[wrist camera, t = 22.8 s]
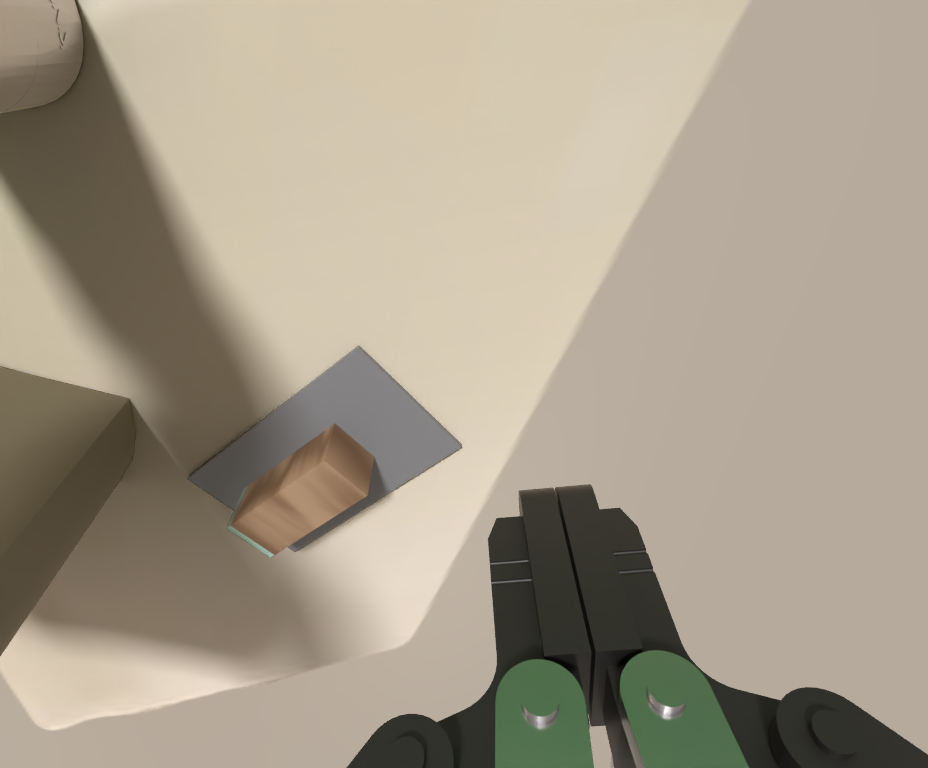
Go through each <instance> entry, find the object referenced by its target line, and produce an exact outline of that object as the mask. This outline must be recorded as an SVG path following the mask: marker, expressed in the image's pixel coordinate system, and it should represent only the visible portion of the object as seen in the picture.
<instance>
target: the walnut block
mask: <svg viewBox="0 0 928 768" xmlns="http://www.w3.org/2000/svg"><path fill="white" fill-rule="evenodd" d="M373 461H374V456H373V455H372V454H370V453H369V452H368V451H367V450H366V449H365V448H363V447H362V446H361V445H360V444H359V443H358V442H356V441H355V440H354V439H353V438H352V437H351V436H349V435H348V434H347V433H346V432H345V431H344V430H342V429H341V428H340V427H339V426H338V425H337V424H335V423H334V424H333V425H332V426H330V427H329V428H327V429H326V430H325V431H323V432H322V433H320V434H319V435H318V436H316V437H315V438H313V439H312V440H311V441H309V442H308V443H307V444H305V445H304V446H302V447H301V448H300V449H298V450H297V451H295V452H294V453H293V454H291V455H290V456H288V457H287V458H286V459H284V460H283V461H281V462H280V463H279V464H277V465H276V466H274V467H273V468H272V469H270V470H269V471H267V472H266V473H265V474H263V475H262V476H260V477H259V478H258V479H256V480H255V481H253V482H252V483H251V484H249V485H248V486H247V487H245V488H244V490H243V492H242V494H241V496H240V498H239V501H238V503H237V505H236V507H235V510H234V512H233V514H232V516H231V519H230V521H229V523H228V525H227V528H226V529H228V530H229V531H231V532H232V533H234V534H235V535H237V536H238V537H240V538H241V539H243V540H244V541H246V542H247V543H249V544H250V545H252V546H253V547H255V548H256V549H258V550H259V551H261V552H263V553H264V554H266V555H267V556H269V557H270V558H271V557H272V556H274V555H275V554H277V553H279V552H280V551H282V550H283V549H285V548H286V547H288V546H290V545H291V544H293V543H294V542H296V541H297V540H299V539H300V538H302V537H304V536H305V535H307V534H308V533H310V532H311V531H313V530H315V529H316V528H318V527H319V526H321V525H322V524H324V523H326V522H327V521H329V520H330V519H332V518H333V517H335V516H336V515H338V514H340V513H341V512H343V511H344V510H346V509H347V508H349V507H351V506H352V505H354V504H355V503H357V502H358V501H360V500H362V499H363V498H365V497H366V496H368V490H369V484H370V479H371V473H372V467H373Z"/></svg>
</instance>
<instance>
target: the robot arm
mask: <svg viewBox="0 0 928 768" xmlns="http://www.w3.org/2000/svg"><path fill="white" fill-rule="evenodd" d="M83 46H84V40H83V33H82V25H81V19H80V16H79V13H78V10H77V6H76V3H75V0H0V113H6V112H11V111H16V110H22V109H27V108H32V107H38V106H42V105H45V104H48V103H50V102H53V101H55V100H57V99H58V98H60V97H61V96H62V95H63V94H65V93H66V92H67V91H68V90H69V89H70V87H71V86H72V84H73V83H74V81H75V80H76V78H77V76H78V73H79V70H80V67H81V64H82V59H83ZM519 509H520V516H519V517H507V518H497V519H496V521H495V524H494V526H493V528H492V531H491V533H490V536H489V538H488V543H489V544H488V545H489V558H490V570H491V584H492V597H493V611H494V623H495V637H496V650H497V667H496V673H495V676H494V679H493V681H492V683H491V685H490V687H489V689H488V690H487V691H486V693H485V694H484V695H483V696H482V697H481V698H480V699H479V700H478V701H477V702H476V703H474V704H473V705H472V706H470V707H468V708H467V709H465V710H463V711H461V712H458V713H456V714H454V715H452V716H450V717H448V718H445V719H443V720H441V721H439V722H435V721H434V720H432V719H431V718H428V717H426V716H423V715H418V714H406V715H401V716H398V717H395V718H393V719H391V720H389V721H387V722H386V723H384V724H383V725H382V726H381V727H380V728H378V729H377V731H376V732H375V733H374V734H373V735H372V736H371V737H370V739H369V740H368V742H367V743H366V744H365V745H364V746H363V748H362V749H361V750H360V752H359V753H358V754H357V755H356V757H355V758H354V759H353V761H352V762H351V763H350V764H349V766H348V767H347V768H594V764H593V757H592V749H591V742H590V733H589V719H590V725H591V726H603V725H605V726H606V730H607V735H608V739H609V744H610V748H611V752H612V757H611V768H928V755H927V754H926V753H924V752H923V751H922V750H920V749H919V748H917V747H916V746H914V745H913V744H911V743H910V742H909V741H907V740H906V739H904V738H903V737H901V736H900V735H898V734H897V733H896V732H894V731H893V730H891V729H890V728H888V727H887V726H885V725H884V724H882V723H881V722H880V721H878V720H877V719H875V718H874V717H872V716H871V715H869V714H868V713H867V712H865V711H864V710H862V709H861V708H859V707H858V706H856V705H855V704H854V703H852V702H850V701H849V700H847V699H845V698H844V697H842V696H840V695H838V694H836V693H833V692H830V691H827V690H824V689H819V688H807V687H806V688H799V689H796V690H793V691H791V692H790V693H788V694H786V695H785V696H784V698H783V699H782V700H777V699H772V698H769V697H765V696H761V695H757V694H753V693H748V692H745V691H741V690H737V689H734V688H731V687H728V686H726V685H724V684H721V683H719V682H717V681H716V680H714V679H712V678H711V677H709V676H708V675H707V674H705V673H704V672H703V671H702V670H701V669H700V668H698V667H697V666H696V665H695V663H694V662H693V661H692V660H691V659H690V657H689V656H688V654H687V653H686V651H685V649H684V647H683V645H682V643H681V640H680V638H679V635H678V632H677V630H676V627H675V625H674V622H673V619H672V617H671V614H670V611H669V609H668V606H667V603H666V601H665V598H664V595H663V593H662V590H661V588H660V585H659V582H658V580H657V577H656V574H655V573H654V572H653V567H652V564H651V561H650V558H649V556H648V554H647V553H646V548H645V545H644V543H643V540H642V537H641V535H640V532H639V529H638V527H637V526H636V525H635V524H634V522H633V521H632V520H631V519H630V518H629V517H628V516H627V515H626V514H625V513H624V512H623V511H622V510H621V509H620V508H612V509H601V510H599V507H598V503H597V500H596V497H595V494H594V491H593V488H592V486H591V485H590V484H589V485H578V486H566V487H556V488H555V491H554V489H553V488H544V489H533V490H521V491H519ZM588 715H589V719H588Z"/></svg>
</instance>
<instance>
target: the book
mask: <svg viewBox="0 0 928 768" xmlns="http://www.w3.org/2000/svg"><path fill="white" fill-rule="evenodd" d="M135 437H136V428H135V423H134V418H133V414H132V409H131V405H130V400H129V398H125V397H120V396H116V395H112V394H108V393H104V392H100V391H96V390H92V389H88V388H83V387H79V386H75V385H71V384H67V383H63V382H59V381H55V380H50V379H46V378H42V377H38V376H34V375H30V374H26V373H22V372H19V371H15V370H11V369H8V368H4V367H0V656H1V655H2V653H3V652H4V650H5V649H6V647H7V646H8V644H9V643H10V641H11V640H12V638H13V637H14V635H15V634H16V633H17V631H18V630H19V628H20V627H21V625H22V624H23V622H24V621H25V619H26V618H27V616H28V615H29V613H30V612H31V610H32V609H33V608H34V606H35V605H36V603H37V602H38V600H39V599H40V597H41V596H42V594H43V593H44V591H45V590H46V588H47V587H48V586H49V584H50V583H51V581H52V580H53V578H54V577H55V575H56V574H57V572H58V571H59V569H60V568H61V566H62V565H63V563H64V562H65V561H66V559H67V558H68V556H69V555H70V553H71V552H72V550H73V549H74V547H75V546H76V544H77V543H78V541H79V540H80V539H81V537H82V536H83V534H84V533H85V531H86V530H87V528H88V527H89V525H90V524H91V522H92V521H93V519H94V518H95V516H96V515H97V514H98V512H99V511H100V509H101V508H102V506H103V505H104V503H105V502H106V500H107V499H108V497H109V496H110V494H111V493H112V492H113V490H114V489H115V487H116V486H117V484H118V483H119V481H120V479H121V478H122V476H123V474H124V473H125V471H126V469H127V467H128V466H129V464H130V462H131V461H132V459H133V452H134V444H135Z"/></svg>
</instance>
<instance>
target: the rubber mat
mask: <svg viewBox="0 0 928 768" xmlns="http://www.w3.org/2000/svg"><path fill="white" fill-rule="evenodd" d="M334 423H335V424H337V425H338V426H339V427H340V428H341V429H342V430H344V431H345V432H346V433H347V434H348V435H349V436H351V437H352V438H353V439H354V440H355V441H356V442H358V443H359V444H360V445H361V446H362V447H363V448H365V449H366V450H367V451H368V452H369V453H370V454H372V455H373V456H374V461H373V467H372V473H371V479H370V484H369V490H368V496H366V497H365V498H363V499H362V500H360V501H358V502H357V503H355V504H354V505H352V506H351V507H349V508H347V509H346V510H344V511H343V512H341V513H340V514H338V515H336V516H335V517H333V518H332V519H330V520H329V521H327V522H326V523H324V524H322V525H321V526H319V527H318V528H316V529H315V530H313V531H311V532H310V533H308V534H307V535H305V536H304V537H302V538H300V539H299V540H297V541H296V542H294V543H293V544H291V545H290V546H288V548H290V549H291V550H292V551H294V552H296V551H298V550H299V549H301V548H303V547H304V546H306V545H307V544H309V543H311V542H312V541H314V540H315V539H317V538H318V537H320V536H322V535H323V534H325V533H326V532H328V531H330V530H331V529H333V528H334V527H336V526H337V525H339V524H341V523H342V522H344V521H345V520H347V519H349V518H350V517H352V516H353V515H355V514H356V513H358V512H360V511H361V510H363V509H364V508H366V507H368V506H369V505H371V504H372V503H374V502H376V501H377V500H379V499H380V498H382V497H383V496H385V495H387V494H388V493H390V492H391V491H393V490H395V489H396V488H398V487H399V486H401V485H402V484H404V483H406V482H407V481H409V480H410V479H412V478H414V477H415V476H417V475H418V474H420V473H422V472H423V471H425V470H426V469H428V468H429V467H431V466H433V465H434V464H436V463H437V462H439V461H441V460H442V459H444V458H445V457H447V456H448V455H450V454H452V453H453V452H455V451H456V450H458V449H460V448H461V443H460V442H459V441H458V440H456V439H455V438H454V437H453V436H452V435H451V434H450V433H449V432H448V431H447V430H446V429H445V428H444V427H443V426H442V425H441V424H440V423H439V422H438V421H437V420H436V419H435V418H434V417H433V416H432V415H431V414H430V413H428V412H427V411H426V410H425V409H424V408H423V407H422V406H421V405H420V404H419V403H418V402H417V401H416V400H415V399H414V398H413V397H412V396H411V395H410V394H409V393H408V392H407V391H406V390H405V389H404V388H403V387H402V386H401V385H399V384H398V383H397V382H396V381H395V380H394V379H393V378H392V377H391V376H390V375H389V374H388V373H387V372H386V371H385V370H384V369H383V368H382V367H381V366H380V365H379V364H378V363H377V362H376V361H375V360H374V359H373V358H371V357H370V356H369V355H368V354H367V353H366V352H365V351H364V350H363V349H362V348H361V347H360V346H358V347H356V348H355V349H354V350H353V351H351V352H350V353H349V354H347V355H346V356H345V357H343V358H342V359H341V360H339V361H338V362H337V363H336V364H334V365H333V366H332V367H330V368H329V369H328V370H326V371H325V372H324V373H323V374H321V375H320V376H319V377H317V378H316V379H315V380H313V381H312V382H311V383H310V384H308V385H307V386H306V387H304V388H303V389H302V390H300V391H299V392H298V393H296V394H295V395H294V396H293V397H291V398H290V399H289V400H287V401H286V402H285V403H283V404H282V405H281V406H280V407H278V408H277V409H276V410H274V411H273V412H272V413H270V414H269V415H268V416H267V417H265V418H264V419H263V420H261V421H260V422H259V423H257V424H256V425H255V426H253V427H252V428H251V429H250V430H248V431H247V432H246V433H244V434H243V435H242V436H240V437H239V438H238V439H237V440H235V441H234V442H233V443H231V444H230V445H229V446H227V447H226V448H225V449H224V450H222V451H221V452H220V453H218V454H217V455H216V456H214V457H213V458H212V459H210V460H209V461H208V462H207V463H205V464H204V465H203V466H201V467H200V468H199V469H197V470H196V471H195V472H194V473H192V474H191V475H190V476H189V477H188V480H189V481H191V482H192V483H194V484H195V485H197V486H198V487H200V488H201V489H203V490H204V491H206V492H207V493H209V494H210V495H212V496H213V497H215V498H216V499H217V500H219V501H220V502H222V503H223V504H225V505H226V506H228V507H229V508H231V509H232V510H235V507H236V505H237V503H238V501H239V498H240V496H241V494H242V492H243V490H244V488H245V487H247V486H248V485H249V484H251V483H252V482H253V481H255V480H256V479H258V478H259V477H260V476H262V475H263V474H265V473H266V472H267V471H269V470H270V469H272V468H273V467H274V466H276V465H277V464H279V463H280V462H281V461H283V460H284V459H286V458H287V457H288V456H290V455H291V454H293V453H294V452H295V451H297V450H298V449H300V448H301V447H302V446H304V445H305V444H307V443H308V442H309V441H311V440H312V439H313V438H315V437H316V436H318V435H319V434H320V433H322V432H323V431H325V430H326V429H327V428H329V427H330V426H332V425H333V424H334Z"/></svg>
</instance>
